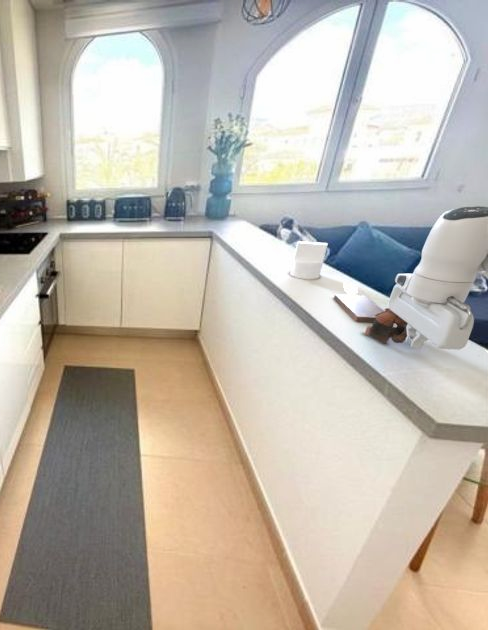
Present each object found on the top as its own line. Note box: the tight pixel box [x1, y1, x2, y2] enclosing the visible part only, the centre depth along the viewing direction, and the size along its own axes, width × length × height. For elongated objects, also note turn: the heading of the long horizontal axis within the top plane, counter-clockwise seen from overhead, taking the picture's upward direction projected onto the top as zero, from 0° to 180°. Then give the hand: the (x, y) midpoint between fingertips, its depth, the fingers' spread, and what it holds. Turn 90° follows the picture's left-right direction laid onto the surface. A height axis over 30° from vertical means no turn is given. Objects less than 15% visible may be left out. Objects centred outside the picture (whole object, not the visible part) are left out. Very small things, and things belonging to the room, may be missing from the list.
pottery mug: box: [363, 307, 408, 345], centre depth 84 cm, size 12×10×8 cm
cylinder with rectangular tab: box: [289, 240, 329, 280], centre depth 124 cm, size 9×9×12 cm
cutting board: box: [333, 293, 385, 324], centre depth 99 cm, size 8×16×2 cm, turn 163°
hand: (412, 345), depth 77 cm, fingers closed
